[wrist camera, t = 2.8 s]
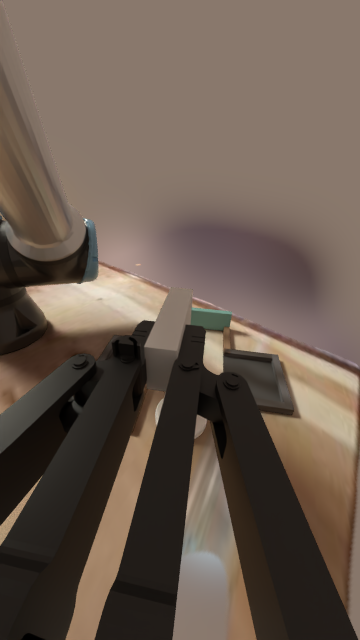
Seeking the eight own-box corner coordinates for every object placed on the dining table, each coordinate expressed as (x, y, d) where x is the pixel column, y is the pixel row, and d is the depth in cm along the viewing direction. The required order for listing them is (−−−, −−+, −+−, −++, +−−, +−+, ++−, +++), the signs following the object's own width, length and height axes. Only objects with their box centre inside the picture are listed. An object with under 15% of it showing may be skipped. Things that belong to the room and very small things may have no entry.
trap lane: (305, 461, 30) (308, 456, 29) (62, 420, 33) (60, 415, 33) (269, 336, 52) (270, 331, 51) (127, 319, 56) (127, 315, 55)
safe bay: (228, 331, 53) (231, 314, 51) (164, 324, 55) (164, 307, 52) (228, 328, 54) (231, 311, 52) (165, 321, 56) (165, 304, 53)
